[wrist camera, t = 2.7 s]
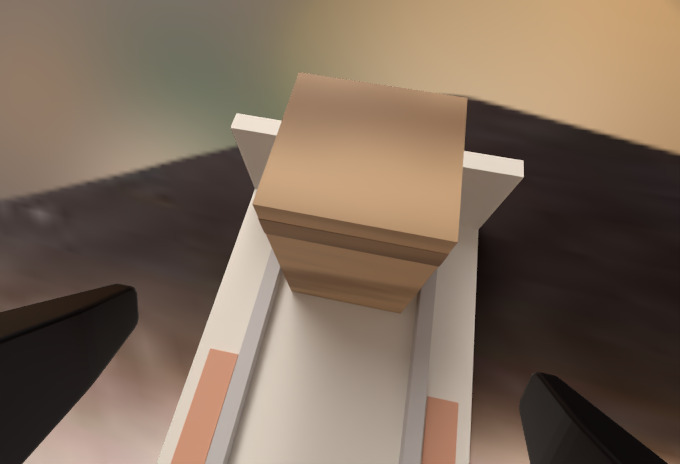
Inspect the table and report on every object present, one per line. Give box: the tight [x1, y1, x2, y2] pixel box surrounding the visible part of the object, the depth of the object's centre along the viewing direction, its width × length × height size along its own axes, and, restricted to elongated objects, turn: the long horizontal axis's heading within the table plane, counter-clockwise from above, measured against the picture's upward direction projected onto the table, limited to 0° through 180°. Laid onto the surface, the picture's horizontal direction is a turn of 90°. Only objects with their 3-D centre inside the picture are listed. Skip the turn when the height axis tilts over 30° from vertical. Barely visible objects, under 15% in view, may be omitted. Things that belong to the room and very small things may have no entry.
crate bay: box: [157, 113, 524, 464], centre depth 17 cm, size 18×15×7 cm
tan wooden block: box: [252, 72, 467, 314], centre depth 17 cm, size 6×6×10 cm
